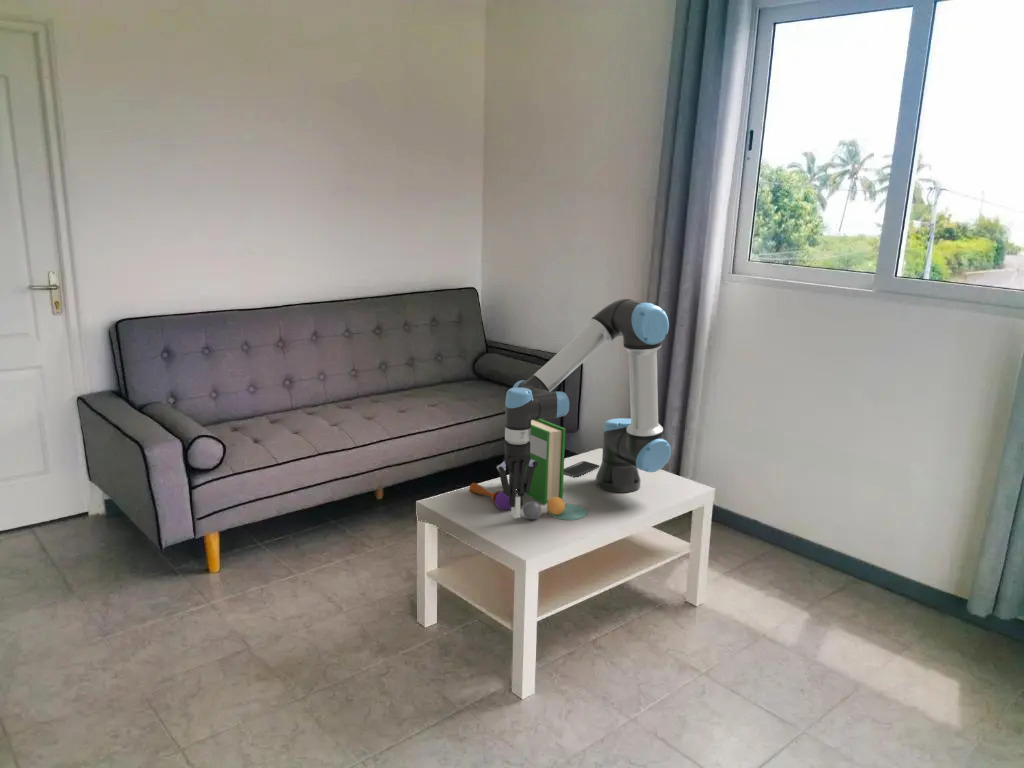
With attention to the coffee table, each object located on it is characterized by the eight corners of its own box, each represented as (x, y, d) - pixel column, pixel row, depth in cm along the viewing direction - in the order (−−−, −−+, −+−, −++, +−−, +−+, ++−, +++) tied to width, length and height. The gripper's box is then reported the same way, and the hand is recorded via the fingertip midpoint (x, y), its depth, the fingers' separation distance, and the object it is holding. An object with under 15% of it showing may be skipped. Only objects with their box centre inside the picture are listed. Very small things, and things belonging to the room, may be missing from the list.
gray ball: (516, 509, 226) (525, 521, 229) (529, 512, 222) (537, 524, 225) (526, 496, 229) (535, 508, 231) (539, 498, 225) (547, 510, 227)
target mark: (582, 504, 240) (582, 503, 240) (590, 519, 228) (590, 518, 228) (545, 504, 238) (545, 504, 238) (551, 520, 227) (551, 519, 226)
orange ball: (551, 517, 233) (564, 506, 234) (557, 519, 228) (570, 508, 229) (541, 503, 232) (554, 492, 234) (546, 505, 227) (560, 494, 228)
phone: (558, 470, 267) (583, 460, 278) (558, 473, 267) (583, 463, 278) (577, 476, 262) (601, 465, 273) (576, 479, 262) (601, 468, 273)
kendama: (481, 478, 249) (519, 492, 233) (479, 496, 249) (517, 511, 234) (467, 478, 245) (504, 493, 230) (464, 496, 246) (501, 512, 230)
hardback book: (562, 499, 243) (565, 428, 237) (544, 504, 239) (547, 432, 233) (529, 482, 257) (531, 415, 251) (511, 487, 252) (513, 418, 247)
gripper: (503, 447, 213) (501, 524, 218) (543, 441, 219) (540, 517, 224) (491, 439, 219) (490, 514, 225) (531, 434, 225) (528, 507, 231)
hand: (515, 515), depth 225 cm, fingers closed
